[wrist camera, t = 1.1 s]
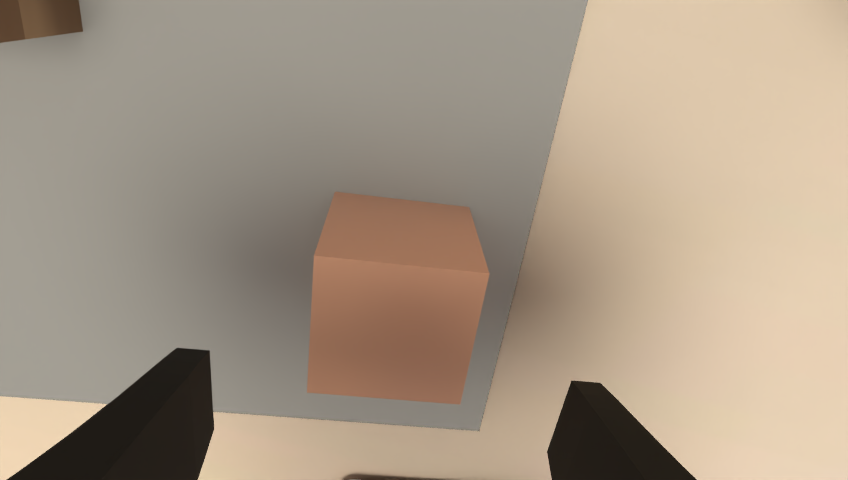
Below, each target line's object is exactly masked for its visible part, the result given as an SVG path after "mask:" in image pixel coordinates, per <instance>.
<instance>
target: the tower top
mask: <svg viewBox="0 0 848 480" xmlns="http://www.w3.org/2000/svg"><path fill="white" fill-rule="evenodd" d="M18 40H25V34H24V29H23V23H22V18H21V13H20V7H19V2H18V0H0V43H3V42H11V41H18Z"/></svg>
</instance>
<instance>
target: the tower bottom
mask: <svg viewBox="0 0 848 480" xmlns="http://www.w3.org/2000/svg"><path fill="white" fill-rule="evenodd" d="M18 2H19V7H20V13H21V18H22V23H23V29H24V34H25V39H32V38H40V37H47V36H54V35H62V34H69V33H76V32H83V27H82V20H81V13H80V6H79V0H18Z"/></svg>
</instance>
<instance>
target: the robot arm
mask: <svg viewBox="0 0 848 480" xmlns="http://www.w3.org/2000/svg"><path fill="white" fill-rule="evenodd" d="M213 430H214V419H213V401H212V383H211V365H210V350H199V349H187V348H176V349H175V350H173V351H172V352H171V353H169V354H168V355H167V356H166V357H164V358H163V359H162V360H161V361H159V362H158V363H157V364H156V365H155V366H153V367H152V368H151V369H150V370H149V371H148V372H146V373H145V374H144V375H143V376H142V377H140V378H139V379H138V380H137V381H136V382H134V383H133V384H132V385H131V386H129V387H128V388H127V389H126V390H125V391H123V392H122V393H121V394H120V395H119V396H117V397H116V398H115V399H114V400H112V401H111V402H110V403H109V404H107V405H106V406H105V407H104V408H102V409H101V410H100V411H99V412H97V413H96V414H95V415H93V416H92V417H91V418H90V419H88V420H87V421H86V422H85V423H83V424H82V425H81V426H80V427H78V428H77V429H76V430H74V431H73V432H72V433H71V434H69V435H68V436H67V437H65V438H64V439H62V440H61V441H60V442H58V443H57V444H56V445H54V446H53V447H52V448H50V449H49V450H47V451H46V452H45V453H43V454H42V455H41V456H39V457H38V458H37V459H35V460H34V461H32V462H31V463H30V464H28V465H27V466H26V467H24V468H23V469H21V470H20V471H19V472H17V473H16V474H14V475H13V476H11V477H10V478H9V479H7V480H198V477H199V474H200V471H201V468H202V465H203V462H204V459H205V456H206V453H207V449H208V446H209V443H210V440H211V437H212V434H213ZM547 453H548V459H549V465H550V471H551V477H552V480H696V479H695V478H694V477H693V476H692V475H691V474H690V473H689V472H688V471H687V470H686V469H685V468H684V467H683V466H682V465H681V464H680V463H679V462H678V461H677V460H676V459H675V458H674V457H673V456H672V455H671V454H670V453H669V452H668V451H667V450H666V449H665V448H664V447H663V446H662V445H661V444H660V443H659V442H658V441H657V440H656V439H655V438H654V437H653V436H652V435H651V434H650V433H649V432H648V431H647V430H646V429H645V428H644V427H643V426H642V425H641V424H640V423H639V422H638V420H637V419H636V418H635V417H634V416H633V415H632V414H631V413H630V412H629V411H628V410H627V409H626V408H625V407H624V406H623V405H622V404H621V403H620V402H619V401H618V400H617V399H616V398H615V397H614V396H613V395H612V394H611V393H610V392H609V391H608V390H607V389H606V388H605V387H604V386H603V385H602V384H601V383H594V382H582V381H571V384H570V387H569V390H568V393H567V396H566V398H565V401H564V404H563V407H562V410H561V413H560V416H559V419H558V422H557V425H556V428H555V431H554V433H553V436H552V439H551V442H550V445H549V448H548V451H547ZM349 480H359V479H349Z"/></svg>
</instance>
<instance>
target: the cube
mask: <svg viewBox="0 0 848 480" xmlns="http://www.w3.org/2000/svg"><path fill="white" fill-rule="evenodd" d="M489 274H490V273H489V270H488V267H487V264H486V260H485V257H484V254H483V251H482V247H481V244H480V241H479V238H478V234H477V231H476V228H475V224H474V221H473V218H472V215H471V211H470V208H469V207H464V206H456V205H447V204H438V203H430V202H421V201H412V200H404V199H395V198H386V197H378V196H369V195H360V194H352V193H343V192H335V193H334V196H333V199H332V202H331V205H330V208H329V211H328V214H327V217H326V220H325V223H324V226H323V229H322V232H321V235H320V238H319V242H318V245H317V248H316V251H315V254H314V263H313V282H312V302H311V321H310V341H309V360H308V379H307V393H318V394H331V395H343V396H356V397H369V398H382V399H395V400H408V401H420V402H433V403H446V404H459V405H460V404H461V399H462V395H463V390H464V386H465V381H466V377H467V372H468V368H469V363H470V359H471V354H472V350H473V345H474V341H475V337H476V332H477V328H478V323H479V319H480V314H481V310H482V305H483V301H484V296H485V292H486V287H487V283H488V278H489Z"/></svg>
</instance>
